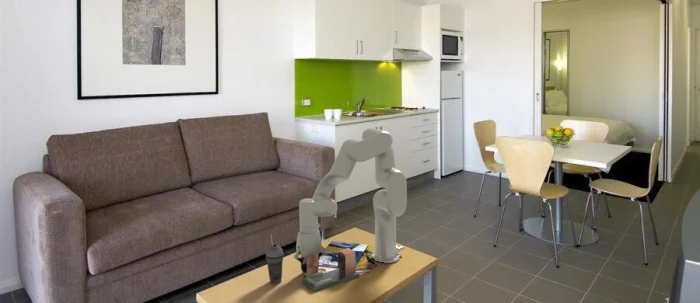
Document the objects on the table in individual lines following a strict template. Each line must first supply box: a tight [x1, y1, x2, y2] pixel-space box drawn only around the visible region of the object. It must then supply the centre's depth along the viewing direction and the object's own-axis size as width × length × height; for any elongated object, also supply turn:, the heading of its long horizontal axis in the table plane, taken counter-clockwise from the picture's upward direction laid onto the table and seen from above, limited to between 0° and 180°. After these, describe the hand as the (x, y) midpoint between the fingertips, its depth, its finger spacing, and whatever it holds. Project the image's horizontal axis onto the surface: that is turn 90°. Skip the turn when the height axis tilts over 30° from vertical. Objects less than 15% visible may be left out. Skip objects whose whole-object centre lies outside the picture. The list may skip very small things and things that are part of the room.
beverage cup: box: [265, 234, 285, 285], centre depth 184 cm, size 7×7×20 cm
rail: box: [301, 247, 360, 292], centre depth 186 cm, size 22×9×10 cm, turn 125°
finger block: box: [301, 254, 319, 277], centre depth 192 cm, size 5×6×9 cm
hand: (310, 269), depth 193 cm, fingers closed on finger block, 5 cm apart
